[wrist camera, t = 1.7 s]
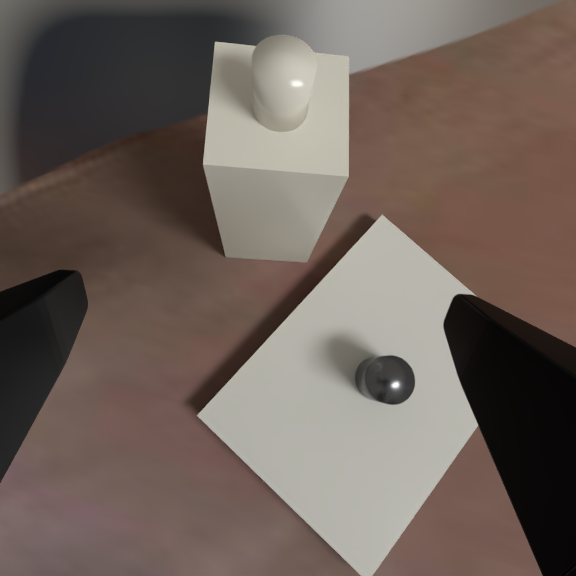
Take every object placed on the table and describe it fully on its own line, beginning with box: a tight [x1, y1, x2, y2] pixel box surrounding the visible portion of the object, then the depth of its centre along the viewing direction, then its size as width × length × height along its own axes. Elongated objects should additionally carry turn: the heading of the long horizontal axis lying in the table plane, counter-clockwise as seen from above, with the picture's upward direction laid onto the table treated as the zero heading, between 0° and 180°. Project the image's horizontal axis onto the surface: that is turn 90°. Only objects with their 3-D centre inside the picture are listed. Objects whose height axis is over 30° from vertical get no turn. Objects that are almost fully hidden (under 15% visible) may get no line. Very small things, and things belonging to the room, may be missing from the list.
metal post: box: [355, 355, 415, 405], centre depth 20 cm, size 2×2×2 cm
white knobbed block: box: [203, 35, 349, 262], centre depth 17 cm, size 5×5×12 cm
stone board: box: [197, 215, 478, 576], centre depth 21 cm, size 16×12×1 cm
